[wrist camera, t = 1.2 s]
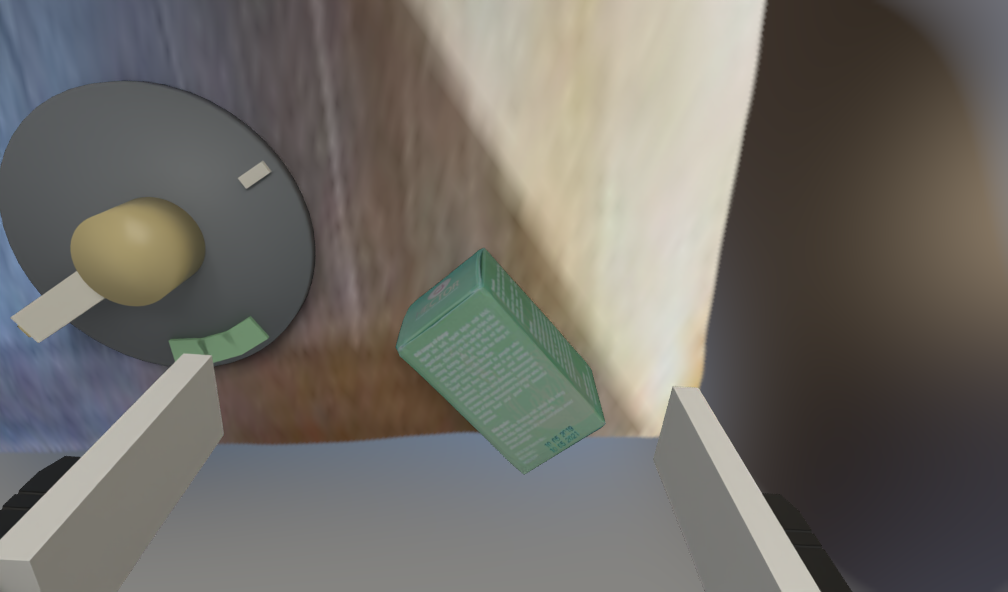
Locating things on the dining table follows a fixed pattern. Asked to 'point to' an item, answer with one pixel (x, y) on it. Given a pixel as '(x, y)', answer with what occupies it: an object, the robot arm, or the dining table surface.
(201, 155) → the plate
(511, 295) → the box
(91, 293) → the round-headed handle
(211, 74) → the dining table surface
